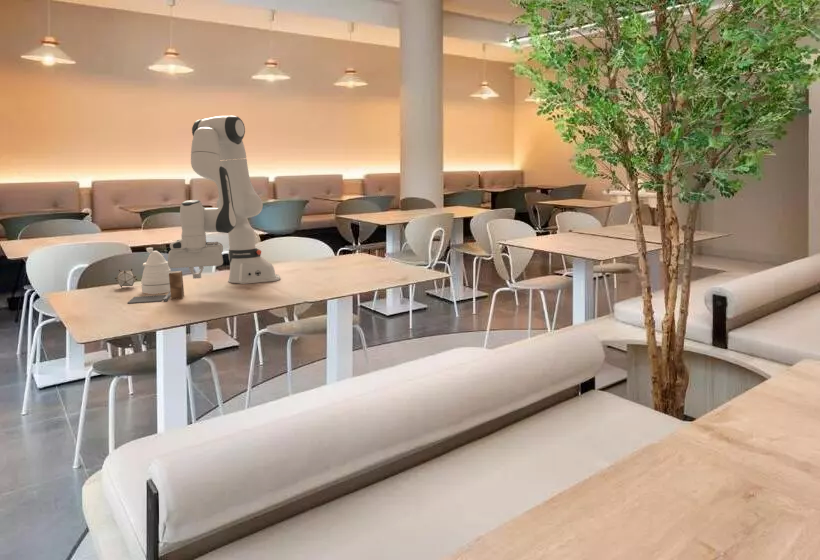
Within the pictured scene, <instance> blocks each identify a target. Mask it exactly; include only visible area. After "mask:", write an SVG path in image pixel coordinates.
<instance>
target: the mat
mask: <svg viewBox="0 0 820 560" xmlns="http://www.w3.org/2000/svg"><path fill="white" fill-rule="evenodd" d="M166 295H167V294H160V295H159V294H158V295H156V294H154V295H141V296H133V297H132V298H131V299H130V300H128V301H127V305H128V304H145V303H156V302H158V303H159V302H163V301H164V300H163V299H164V297H165V296H166Z"/></svg>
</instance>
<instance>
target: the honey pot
mask: <svg viewBox="0 0 820 560" xmlns="http://www.w3.org/2000/svg"><path fill="white" fill-rule="evenodd" d="M146 252H147V253H149V255H148V257H147V260H146V262H143V263H142V267H144V268H143V271H142V275H141V276H142V278H141V279H140V282H141V293H142V292H143V293H142V294H144V293H148V294H147V295H156V294H158V293H159V294H166V293H167V294H168V293H169V292H170V282H169V273H170V272H171V271H172V270H171V269H172V268H170V267H169V266H168V260H166V258H165V257H164V256H163V254H162V253H160V251H158V250H154V247H146ZM159 294H158V295H159Z"/></svg>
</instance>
